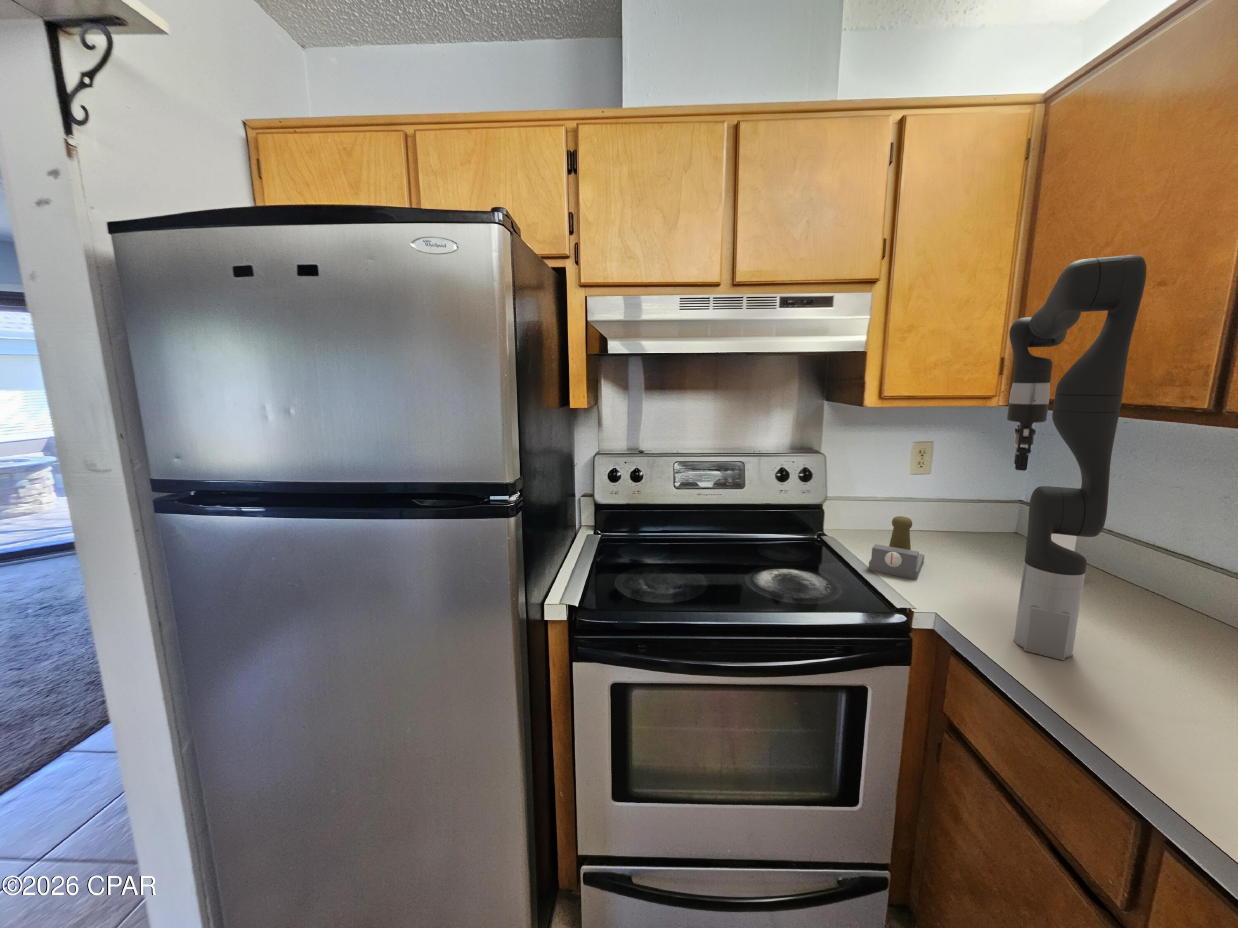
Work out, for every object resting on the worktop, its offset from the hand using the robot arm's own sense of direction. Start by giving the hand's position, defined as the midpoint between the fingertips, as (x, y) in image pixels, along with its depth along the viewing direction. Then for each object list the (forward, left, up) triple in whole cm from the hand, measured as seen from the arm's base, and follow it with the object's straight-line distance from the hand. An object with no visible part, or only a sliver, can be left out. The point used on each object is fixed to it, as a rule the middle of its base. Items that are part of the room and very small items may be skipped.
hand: (1020, 467), depth 124 cm
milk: (+25, -11, -32) cm, 42 cm away
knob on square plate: (+2, +25, -32) cm, 41 cm away
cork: (+4, +25, -29) cm, 39 cm away
